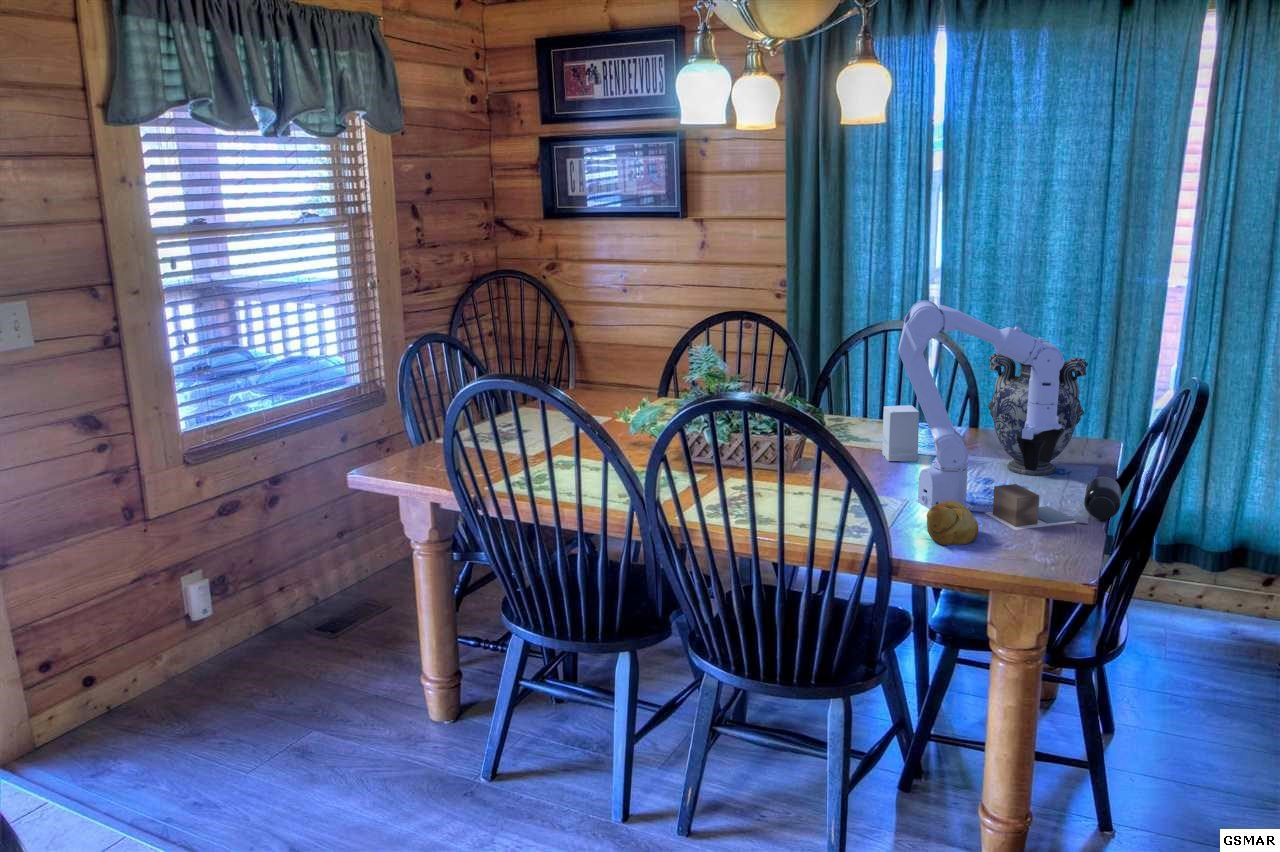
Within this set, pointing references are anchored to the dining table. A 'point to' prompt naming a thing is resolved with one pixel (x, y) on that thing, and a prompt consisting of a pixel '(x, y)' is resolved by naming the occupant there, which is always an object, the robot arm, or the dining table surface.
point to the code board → (1040, 524)
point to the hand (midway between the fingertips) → (1037, 465)
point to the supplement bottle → (1102, 498)
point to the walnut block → (1016, 505)
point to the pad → (1052, 515)
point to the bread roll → (951, 524)
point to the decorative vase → (1013, 407)
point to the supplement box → (900, 433)
